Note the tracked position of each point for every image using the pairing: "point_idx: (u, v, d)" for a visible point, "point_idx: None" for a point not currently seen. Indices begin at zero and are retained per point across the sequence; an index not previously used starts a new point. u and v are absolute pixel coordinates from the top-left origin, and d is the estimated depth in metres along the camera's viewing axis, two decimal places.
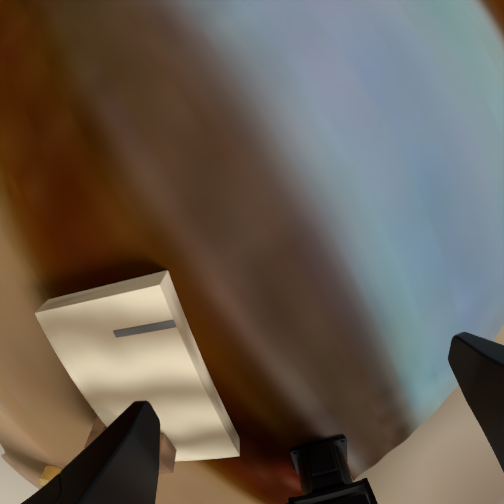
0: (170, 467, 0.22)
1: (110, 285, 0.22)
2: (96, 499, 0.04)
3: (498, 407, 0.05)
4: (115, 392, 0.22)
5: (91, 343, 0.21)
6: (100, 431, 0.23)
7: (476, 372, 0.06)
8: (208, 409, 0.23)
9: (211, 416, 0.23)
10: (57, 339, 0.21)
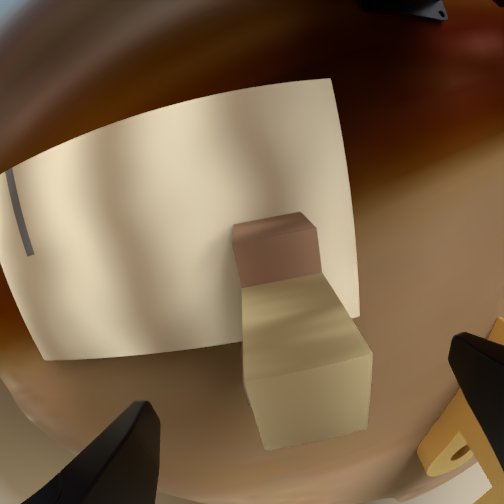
0: (294, 230, 0.11)
1: None
2: (96, 499, 0.04)
3: (498, 407, 0.05)
4: (131, 289, 0.15)
5: (53, 295, 0.15)
6: None
7: (476, 372, 0.06)
8: (153, 121, 0.12)
9: (174, 117, 0.12)
10: (65, 345, 0.16)
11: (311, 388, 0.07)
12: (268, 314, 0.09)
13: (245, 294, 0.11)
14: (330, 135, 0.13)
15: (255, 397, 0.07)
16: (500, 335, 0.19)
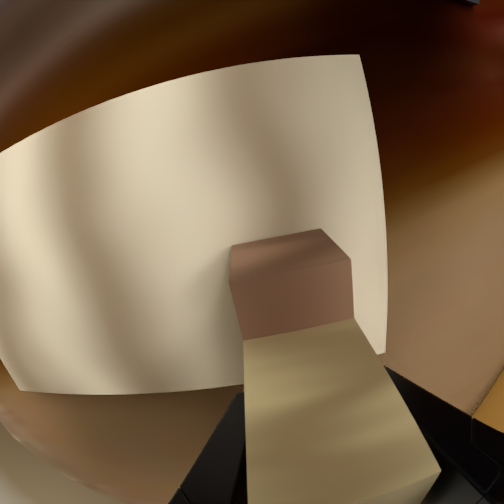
0: (318, 261, 0.07)
1: None
2: None
3: None
4: (105, 323, 0.11)
5: (20, 323, 0.11)
6: None
7: None
8: (125, 109, 0.09)
9: (153, 102, 0.09)
10: (39, 377, 0.12)
11: None
12: (283, 394, 0.06)
13: (248, 352, 0.07)
14: (360, 127, 0.09)
15: None
16: None
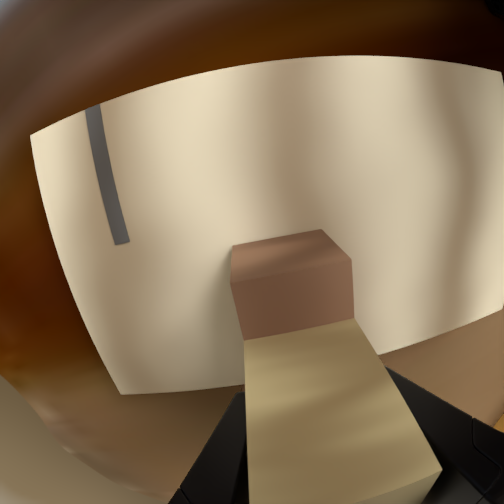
0: (319, 261, 0.07)
1: None
2: None
3: None
4: None
5: (156, 305, 0.11)
6: None
7: None
8: (353, 69, 0.09)
9: (379, 70, 0.09)
10: (163, 374, 0.12)
11: None
12: (284, 394, 0.06)
13: (249, 352, 0.07)
14: None
15: None
16: None
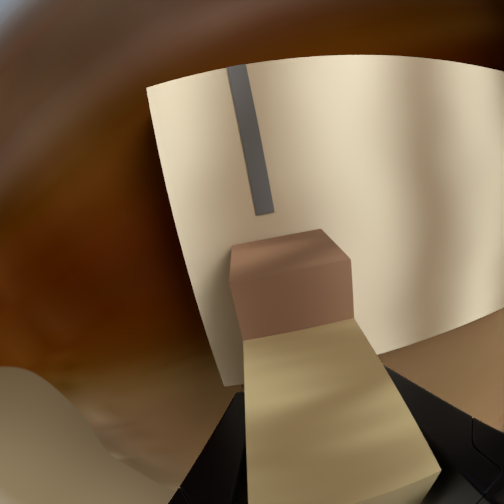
0: (319, 261, 0.07)
1: None
2: None
3: None
4: (419, 263, 0.11)
5: None
6: None
7: None
8: (461, 74, 0.08)
9: (476, 77, 0.08)
10: None
11: None
12: (283, 394, 0.06)
13: (248, 352, 0.07)
14: None
15: None
16: None
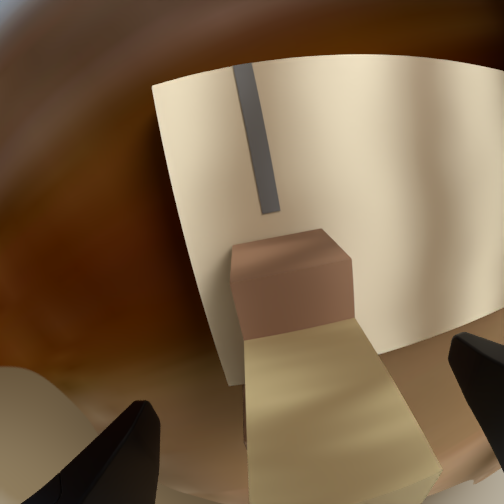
0: (319, 261, 0.07)
1: None
2: (96, 499, 0.04)
3: (498, 407, 0.05)
4: (424, 262, 0.11)
5: None
6: None
7: (476, 372, 0.06)
8: (464, 74, 0.08)
9: (480, 77, 0.08)
10: None
11: None
12: (284, 393, 0.06)
13: (249, 352, 0.07)
14: None
15: None
16: None
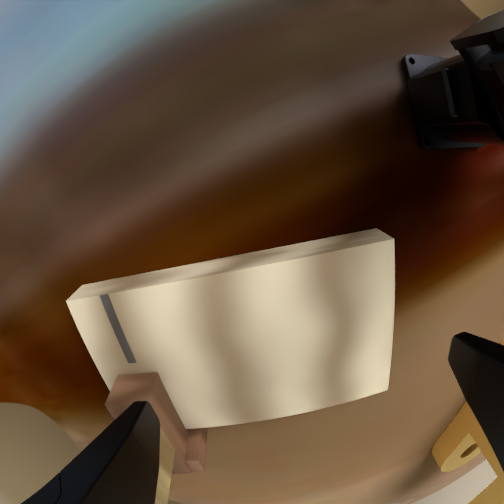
0: None
1: None
2: (96, 499, 0.04)
3: (498, 406, 0.05)
4: (228, 387, 0.19)
5: None
6: None
7: (476, 372, 0.06)
8: (256, 275, 0.16)
9: (275, 273, 0.16)
10: None
11: None
12: None
13: None
14: (387, 282, 0.17)
15: None
16: None
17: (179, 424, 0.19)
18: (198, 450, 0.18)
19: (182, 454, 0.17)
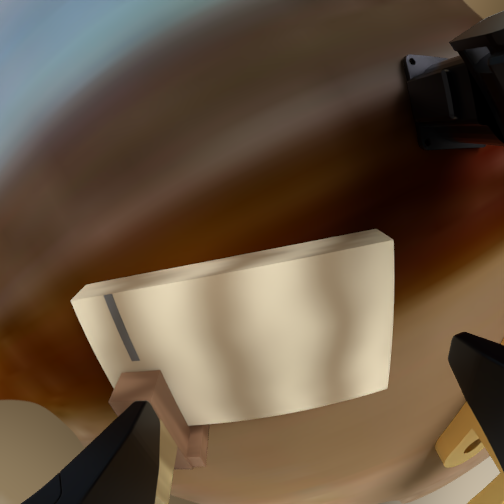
0: (140, 398, 0.16)
1: None
2: (96, 499, 0.04)
3: (498, 406, 0.05)
4: (230, 385, 0.19)
5: None
6: None
7: (476, 372, 0.06)
8: (257, 276, 0.17)
9: (275, 273, 0.17)
10: None
11: None
12: None
13: None
14: (386, 283, 0.17)
15: None
16: None
17: (181, 421, 0.19)
18: (199, 446, 0.19)
19: (184, 451, 0.18)
